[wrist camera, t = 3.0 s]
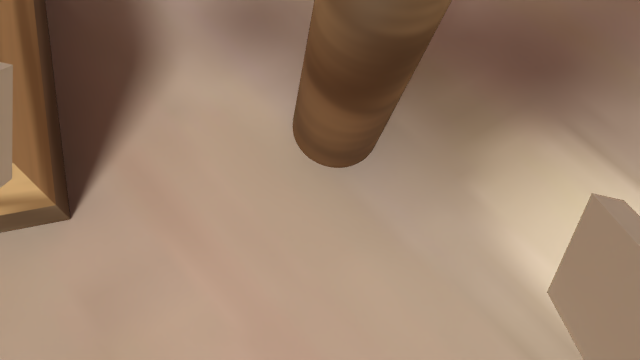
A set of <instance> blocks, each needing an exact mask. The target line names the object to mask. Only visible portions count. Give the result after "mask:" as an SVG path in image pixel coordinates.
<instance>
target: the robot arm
mask: <svg viewBox="0 0 640 360" xmlns="http://www.w3.org/2000/svg"><path fill="white" fill-rule="evenodd" d="M12 119H13V65H11V64H7V63H2V62H0V188H1V187H2V186H3V185H5V184H6V183H7V182H8V181H10V180H11V179H12ZM547 293H548V295H549V297H550V298H551V300H552V302H553V304H554V306H555V308H556V309H557V311H558V313H559V315H560V317H561V319H562V321H563V322H564V324H565V326H566V328H567V330H568V332H569V334H570V335H571V337H572V339H573V341H574V343H575V345H576V347H577V348H578V350H579V352H580V354H581V356H582V358H583V360H640V216H639V215H638V214H637V213H636V212H635V211H634V210H633V209H632V208H631V207H630V206H629V205H628V204H627V203H626V202H625V201H624V200H620V199H615V198H611V197H606V196H602V195H597V194H593V193H592V194H591V197H590V199H589V201H588V203H587V205H586V208H585V210H584V212H583V214H582V216H581V219H580V221H579V223H578V225H577V227H576V230H575V232H574V234H573V236H572V238H571V241H570V243H569V245H568V247H567V249H566V252H565V254H564V256H563V258H562V261H561V263H560V265H559V267H558V269H557V272H556V274H555V276H554V278H553V280H552V283H551V285H550V287H549V289H548V291H547Z"/></svg>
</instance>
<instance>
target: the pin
mask: <svg viewBox="0 0 640 360" xmlns="http://www.w3.org/2000/svg"><path fill="white" fill-rule="evenodd" d="M451 1H452V0H314V6H313V12H312V17H311V23H310V28H309V34H308V40H307V45H306V51H305V56H304V62H303V68H302V73H301V79H300V84H299V90H298V96H297V101H296V107H295V112H294V118H293V133H294V137H295V140H296V142H297V144H298V146H299V147H300V149H301V150H302V151H303V153H304V154H305V155H307V156H308V157H309V158H310V159H312V160H313V161H315V162H317V163H319V164H321V165H324V166H328V167H334V168H342V167H348V166H352V165H354V164H357V163H359V162H360V161H362V160H363V159H365V158H366V157H367V156H368V155H369V154H370V153H371V151H372V150H373V148H374V146H375V144H376V142H377V141H378V139H379V137H380V135H381V133H382V131H383V129H384V127H385V125H386V124H387V122H388V120H389V118H390V116H391V114H392V112H393V110H394V108H395V107H396V105H397V103H398V101H399V99H400V97H401V95H402V93H403V91H404V90H405V88H406V86H407V84H408V82H409V80H410V78H411V76H412V74H413V73H414V71H415V69H416V67H417V65H418V63H419V61H420V59H421V57H422V56H423V54H424V52H425V50H426V48H427V46H428V44H429V42H430V40H431V39H432V37H433V35H434V33H435V31H436V29H437V27H438V25H439V23H440V22H441V20H442V18H443V16H444V14H445V12H446V10H447V8H448V6H449V5H450V3H451Z"/></svg>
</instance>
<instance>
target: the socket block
mask: <svg viewBox="0 0 640 360" xmlns="http://www.w3.org/2000/svg"><path fill="white" fill-rule="evenodd" d="M0 62H2V63H7V64H11V65H13V119H12V179H11V180H10V181H8V182H7V183H6V184H5V185H3V186H2V187H1V188H0V233H1V232H6V231H11V230H17V229H22V228H27V227H33V226H38V225H43V224H48V223H54V222H59V221H64V220H69V219H70V212H69V204H68V195H67V187H66V178H65V169H64V161H63V152H62V144H61V135H60V127H59V118H58V110H57V101H56V92H55V84H54V75H53V67H52V58H51V50H50V41H49V33H48V24H47V15H46V7H45V0H0Z"/></svg>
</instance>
